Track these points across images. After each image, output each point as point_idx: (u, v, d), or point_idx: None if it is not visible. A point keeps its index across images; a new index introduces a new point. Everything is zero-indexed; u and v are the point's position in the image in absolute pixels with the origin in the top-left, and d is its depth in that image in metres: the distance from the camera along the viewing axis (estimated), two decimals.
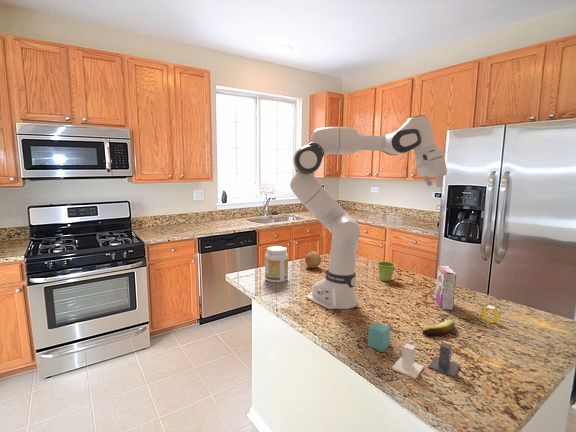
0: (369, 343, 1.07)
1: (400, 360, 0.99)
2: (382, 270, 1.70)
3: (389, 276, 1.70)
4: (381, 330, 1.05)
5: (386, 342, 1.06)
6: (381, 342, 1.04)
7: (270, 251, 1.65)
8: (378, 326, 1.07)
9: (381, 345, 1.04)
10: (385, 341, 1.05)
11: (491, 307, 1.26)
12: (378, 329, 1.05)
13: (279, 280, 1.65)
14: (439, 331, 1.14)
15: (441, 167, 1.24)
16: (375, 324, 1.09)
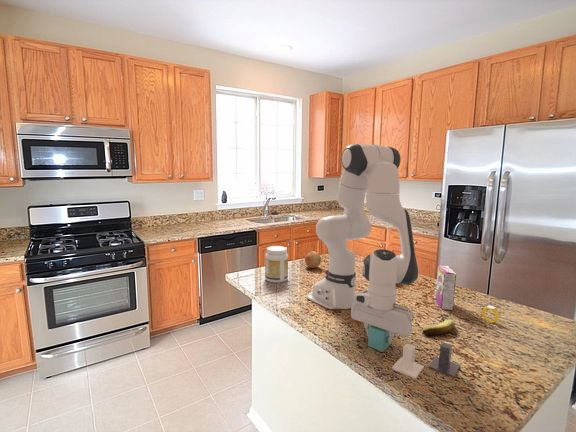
0: (369, 343, 1.07)
1: (400, 360, 0.99)
2: None
3: None
4: (381, 330, 1.05)
5: None
6: (381, 342, 1.04)
7: (270, 251, 1.65)
8: None
9: (381, 345, 1.04)
10: None
11: (491, 307, 1.26)
12: (378, 329, 1.05)
13: (279, 280, 1.65)
14: (439, 331, 1.14)
15: None
16: None
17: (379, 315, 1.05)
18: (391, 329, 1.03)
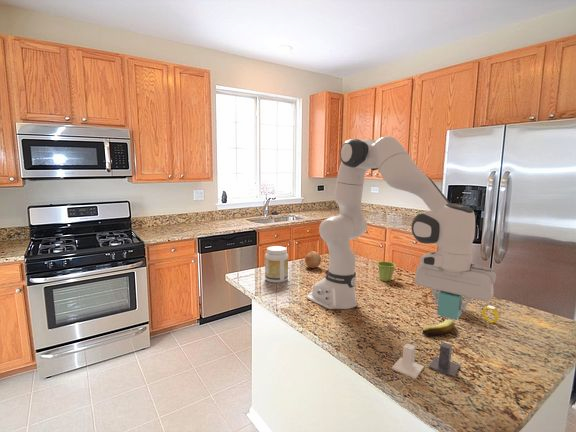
0: (439, 311, 0.93)
1: (400, 360, 0.99)
2: (382, 270, 1.70)
3: (389, 276, 1.70)
4: (455, 295, 0.91)
5: (459, 310, 0.92)
6: (455, 309, 0.91)
7: (270, 251, 1.65)
8: None
9: (455, 313, 0.91)
10: None
11: (491, 307, 1.26)
12: (451, 294, 0.92)
13: (279, 280, 1.65)
14: (439, 331, 1.14)
15: None
16: None
17: (452, 278, 0.91)
18: (468, 293, 0.89)
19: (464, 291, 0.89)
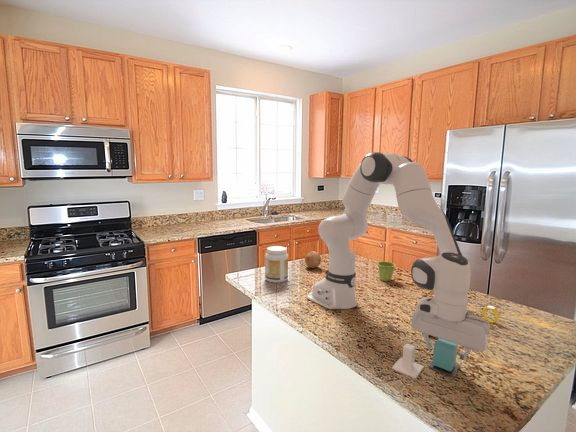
0: (434, 361, 0.96)
1: (400, 360, 0.99)
2: (382, 270, 1.70)
3: (389, 276, 1.70)
4: (449, 347, 0.93)
5: (454, 360, 0.95)
6: (450, 361, 0.93)
7: (270, 251, 1.65)
8: (444, 342, 0.96)
9: (449, 364, 0.93)
10: (453, 360, 0.94)
11: (491, 307, 1.26)
12: (445, 346, 0.94)
13: (279, 280, 1.65)
14: None
15: None
16: (440, 340, 0.97)
17: (447, 326, 0.94)
18: (463, 342, 0.91)
19: (459, 340, 0.92)
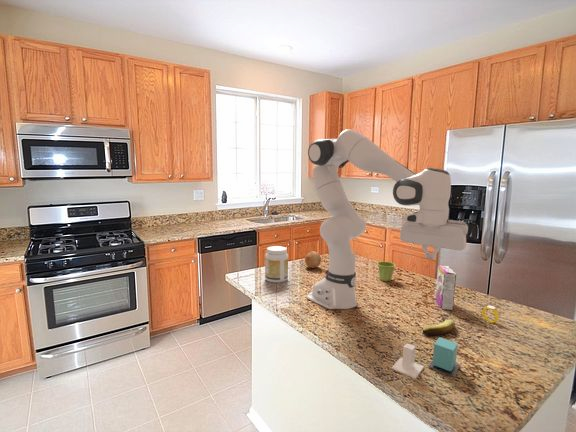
0: (434, 361, 0.96)
1: (400, 360, 0.99)
2: (382, 270, 1.70)
3: (389, 276, 1.70)
4: (449, 347, 0.93)
5: (454, 360, 0.95)
6: (450, 361, 0.93)
7: (270, 251, 1.65)
8: (444, 342, 0.96)
9: (449, 364, 0.93)
10: (453, 360, 0.94)
11: (491, 307, 1.26)
12: (445, 346, 0.94)
13: (279, 280, 1.65)
14: (439, 331, 1.14)
15: None
16: (440, 340, 0.97)
17: (431, 233, 1.05)
18: (444, 245, 1.03)
19: (441, 243, 1.03)
